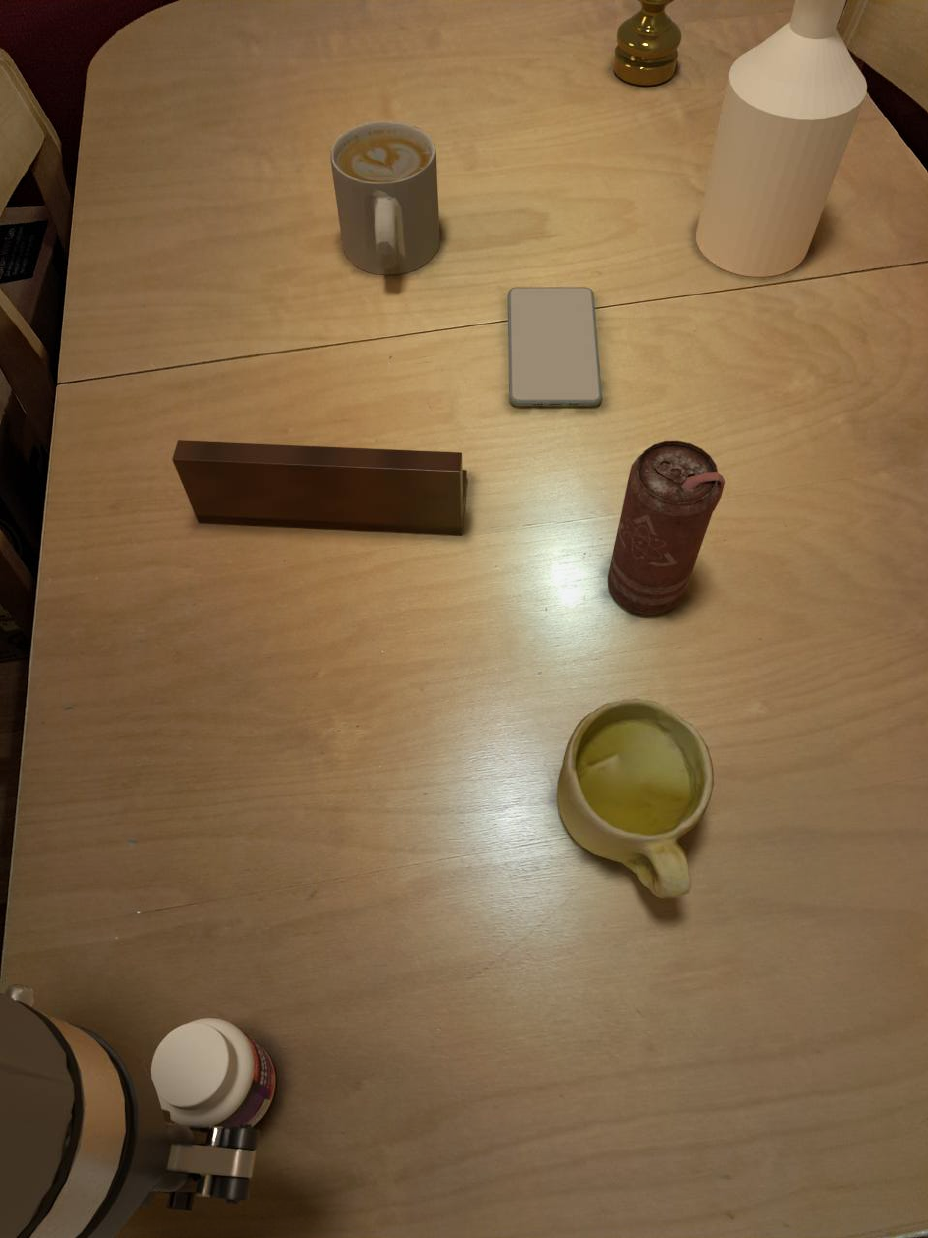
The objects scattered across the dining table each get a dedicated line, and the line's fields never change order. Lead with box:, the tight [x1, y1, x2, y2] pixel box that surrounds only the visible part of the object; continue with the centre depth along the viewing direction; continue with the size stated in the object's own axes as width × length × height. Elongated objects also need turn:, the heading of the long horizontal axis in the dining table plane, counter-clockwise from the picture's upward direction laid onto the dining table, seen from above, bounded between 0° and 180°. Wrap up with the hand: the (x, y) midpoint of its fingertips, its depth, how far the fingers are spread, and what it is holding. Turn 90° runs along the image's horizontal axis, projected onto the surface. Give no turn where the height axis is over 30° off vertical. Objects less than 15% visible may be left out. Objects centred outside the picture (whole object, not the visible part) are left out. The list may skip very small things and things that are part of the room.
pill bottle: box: [150, 1017, 276, 1134], centre depth 52 cm, size 5×5×10 cm
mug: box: [556, 698, 715, 899], centre depth 61 cm, size 12×10×10 cm
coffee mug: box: [329, 120, 441, 276], centre depth 91 cm, size 13×10×10 cm
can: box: [607, 440, 726, 615], centre depth 68 cm, size 6×6×14 cm
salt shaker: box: [613, 0, 682, 87], centre depth 108 cm, size 7×7×10 cm
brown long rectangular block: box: [171, 439, 468, 536], centre depth 76 cm, size 22×6×8 cm, turn 86°
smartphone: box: [507, 286, 603, 407], centre depth 88 cm, size 8×1×15 cm
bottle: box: [695, 0, 868, 278], centre depth 85 cm, size 12×12×25 cm
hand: (199, 1163), depth 51 cm, fingers closed
